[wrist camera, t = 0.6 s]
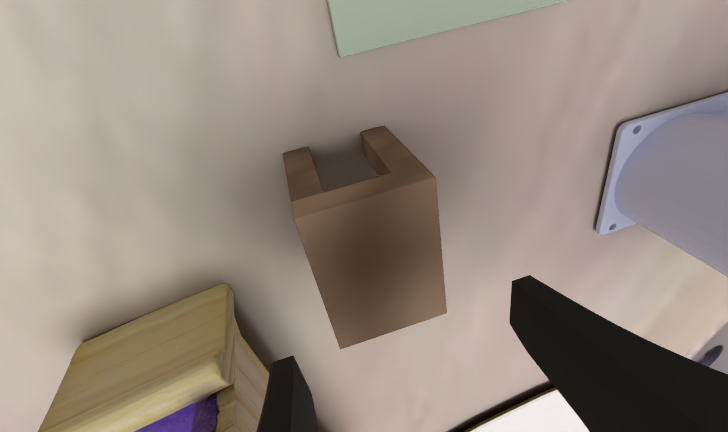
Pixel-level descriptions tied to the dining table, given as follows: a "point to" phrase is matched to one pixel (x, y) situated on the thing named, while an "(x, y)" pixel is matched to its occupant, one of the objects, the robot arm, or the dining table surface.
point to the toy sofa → (165, 374)
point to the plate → (535, 416)
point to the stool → (372, 240)
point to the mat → (412, 19)
